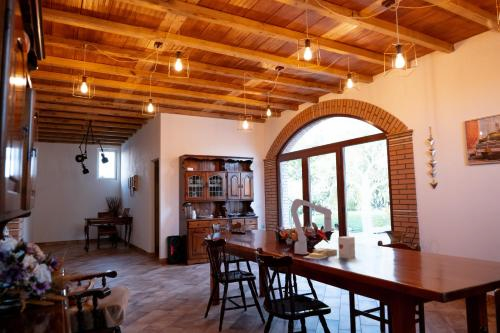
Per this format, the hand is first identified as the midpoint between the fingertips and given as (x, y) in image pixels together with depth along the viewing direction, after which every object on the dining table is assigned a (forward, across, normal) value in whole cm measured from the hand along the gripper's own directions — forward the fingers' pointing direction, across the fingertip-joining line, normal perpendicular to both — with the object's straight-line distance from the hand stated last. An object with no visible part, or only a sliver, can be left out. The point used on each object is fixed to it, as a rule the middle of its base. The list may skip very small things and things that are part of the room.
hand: (328, 240), depth 286 cm
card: (+8, -21, -2) cm, 23 cm away
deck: (+10, -9, -2) cm, 14 cm away
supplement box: (+10, -9, -21) cm, 25 cm away
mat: (+10, -22, -2) cm, 24 cm away
